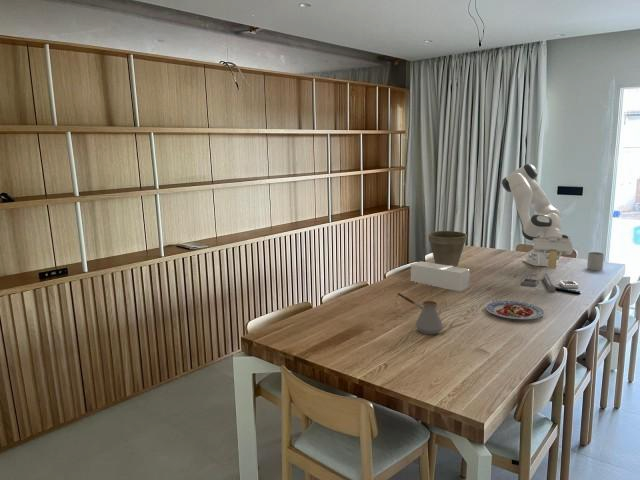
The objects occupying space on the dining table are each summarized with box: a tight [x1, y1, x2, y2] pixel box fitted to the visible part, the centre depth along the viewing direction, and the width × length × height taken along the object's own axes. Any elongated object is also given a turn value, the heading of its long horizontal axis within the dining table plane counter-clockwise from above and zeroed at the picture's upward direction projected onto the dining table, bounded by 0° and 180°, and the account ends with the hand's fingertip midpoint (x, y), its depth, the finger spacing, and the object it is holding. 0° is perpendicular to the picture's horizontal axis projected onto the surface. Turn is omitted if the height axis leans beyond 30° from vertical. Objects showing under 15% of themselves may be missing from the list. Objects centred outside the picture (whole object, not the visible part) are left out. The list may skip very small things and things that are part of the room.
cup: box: [586, 251, 605, 272], centre depth 296 cm, size 8×8×10 cm
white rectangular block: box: [410, 260, 471, 292], centre depth 272 cm, size 32×11×11 cm, turn 46°
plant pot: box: [428, 230, 468, 267], centre depth 314 cm, size 25×25×22 cm
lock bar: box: [546, 249, 558, 270], centre depth 261 cm, size 4×4×10 cm
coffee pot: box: [396, 292, 444, 336], centre depth 204 cm, size 21×12×15 cm, turn 55°
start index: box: [559, 280, 579, 289], centre depth 262 cm, size 8×8×2 cm
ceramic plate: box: [485, 300, 545, 320], centre depth 222 cm, size 26×26×3 cm
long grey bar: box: [542, 273, 556, 293], centre depth 265 cm, size 26×3×3 cm, turn 161°
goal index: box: [520, 277, 539, 287], centre depth 268 cm, size 8×8×2 cm
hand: (552, 258), depth 261 cm, fingers closed on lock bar, 4 cm apart
